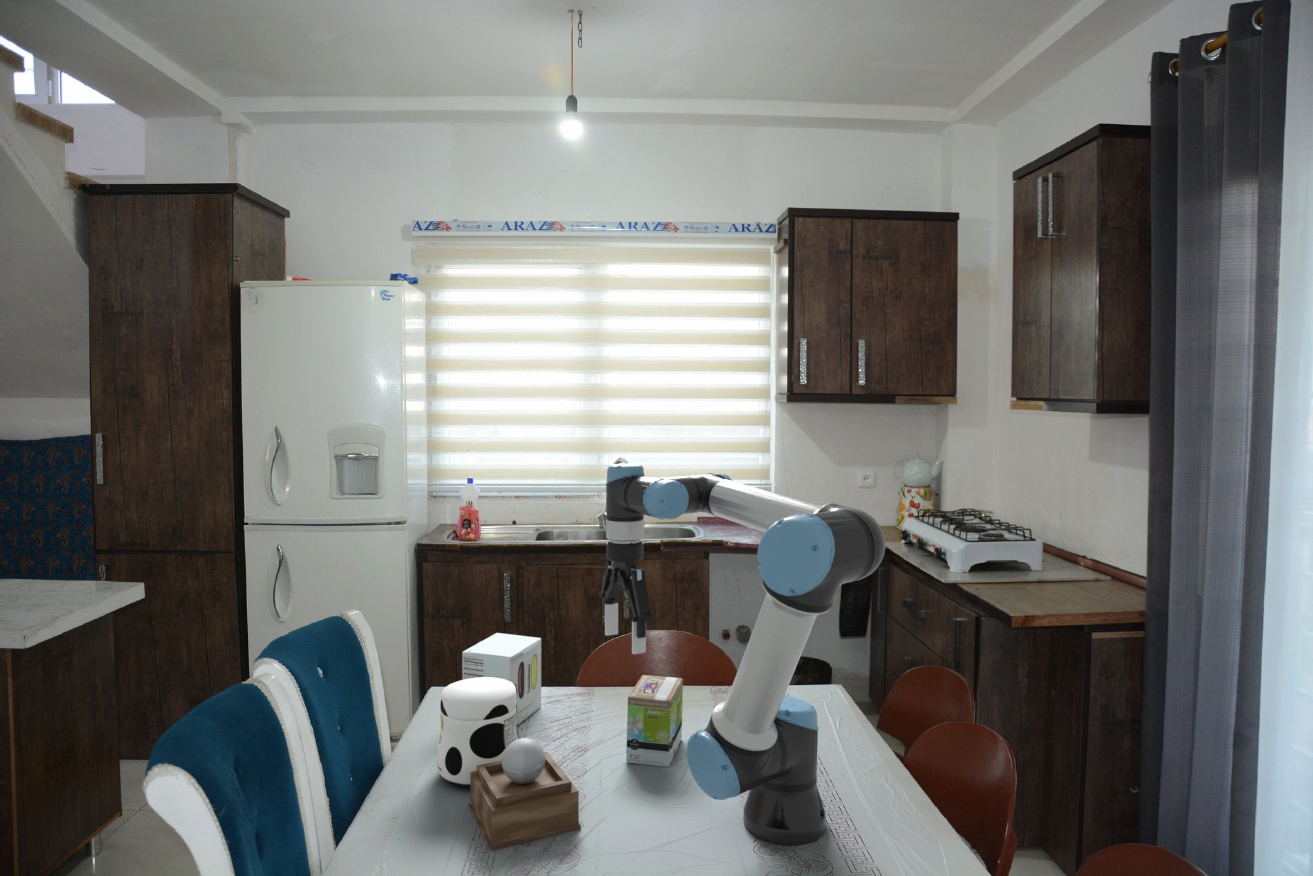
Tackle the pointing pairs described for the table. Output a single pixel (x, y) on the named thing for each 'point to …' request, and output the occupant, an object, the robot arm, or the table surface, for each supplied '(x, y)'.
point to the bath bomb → (523, 760)
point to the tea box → (654, 720)
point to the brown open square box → (522, 805)
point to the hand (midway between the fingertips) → (624, 643)
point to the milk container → (475, 726)
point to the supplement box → (509, 667)
